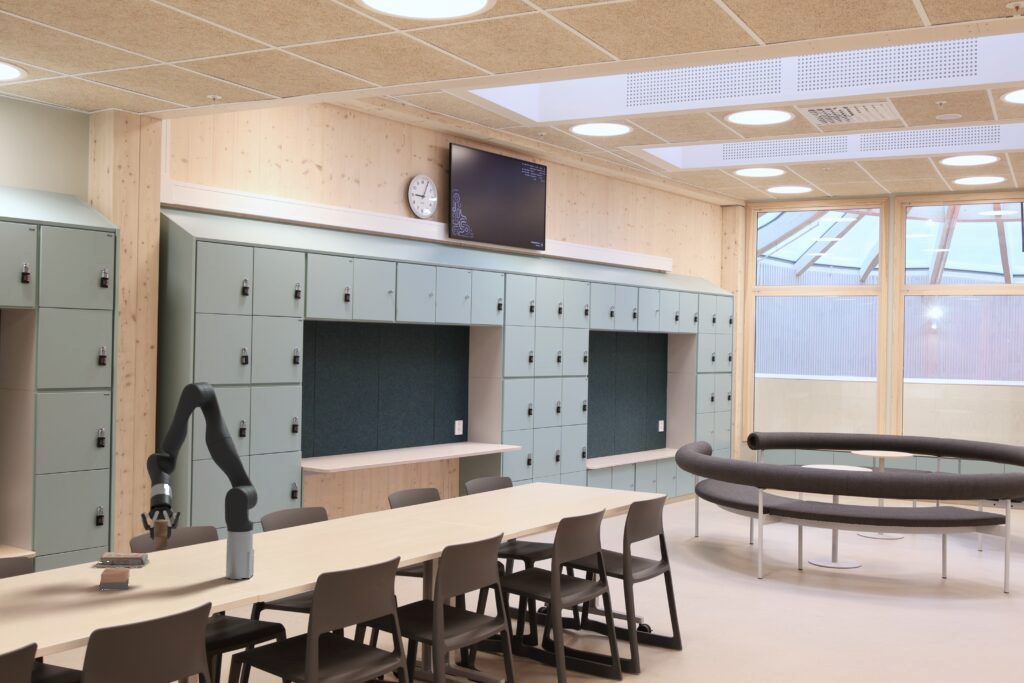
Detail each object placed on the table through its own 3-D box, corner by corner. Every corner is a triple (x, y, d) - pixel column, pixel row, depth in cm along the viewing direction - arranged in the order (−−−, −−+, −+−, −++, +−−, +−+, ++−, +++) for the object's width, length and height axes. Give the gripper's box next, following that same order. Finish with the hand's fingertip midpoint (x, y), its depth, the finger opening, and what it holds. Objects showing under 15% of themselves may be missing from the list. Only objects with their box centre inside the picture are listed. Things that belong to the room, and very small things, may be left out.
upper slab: (129, 576, 343) (129, 568, 343) (125, 582, 335) (125, 573, 335) (105, 577, 341) (105, 568, 341) (100, 582, 333) (101, 574, 333)
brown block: (167, 546, 350) (167, 519, 350) (167, 549, 346) (167, 521, 346) (153, 547, 348) (154, 519, 348) (153, 550, 344) (154, 521, 344)
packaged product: (150, 551, 377) (142, 556, 367) (150, 563, 377) (141, 569, 367) (103, 550, 376) (93, 555, 366) (103, 563, 376) (93, 568, 366)
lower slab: (128, 584, 344) (128, 576, 344) (127, 590, 335) (128, 582, 335) (101, 586, 340) (101, 577, 341) (99, 592, 332) (99, 583, 332)
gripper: (140, 493, 352) (139, 533, 340) (181, 492, 357) (182, 530, 345) (140, 506, 357) (139, 545, 345) (181, 504, 362) (181, 543, 350)
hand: (160, 537), depth 345 cm, fingers closed on brown block, 4 cm apart
